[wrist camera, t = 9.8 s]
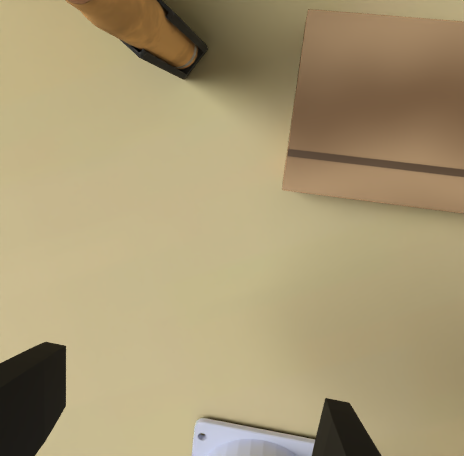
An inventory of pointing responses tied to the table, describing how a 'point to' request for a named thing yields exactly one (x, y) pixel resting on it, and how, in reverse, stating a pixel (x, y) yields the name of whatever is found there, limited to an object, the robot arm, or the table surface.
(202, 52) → the ammunition clip
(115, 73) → the table surface
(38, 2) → the table surface
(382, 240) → the table surface
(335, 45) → the board
